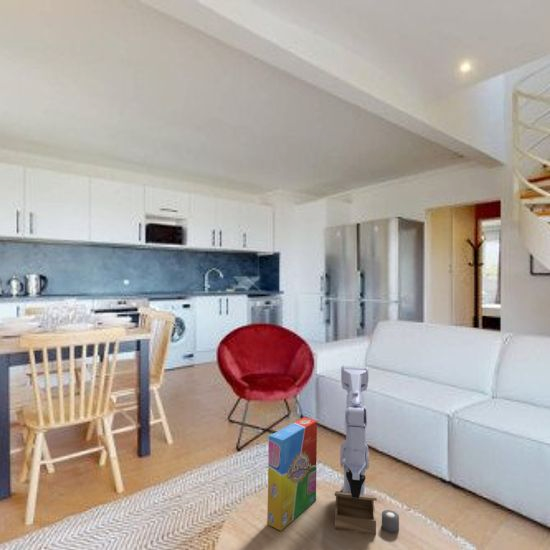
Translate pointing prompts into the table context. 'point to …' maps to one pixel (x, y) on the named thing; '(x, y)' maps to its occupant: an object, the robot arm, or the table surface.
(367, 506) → the box
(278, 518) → the game box
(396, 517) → the grey short cylinder
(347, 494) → the lid
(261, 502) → the table surface
